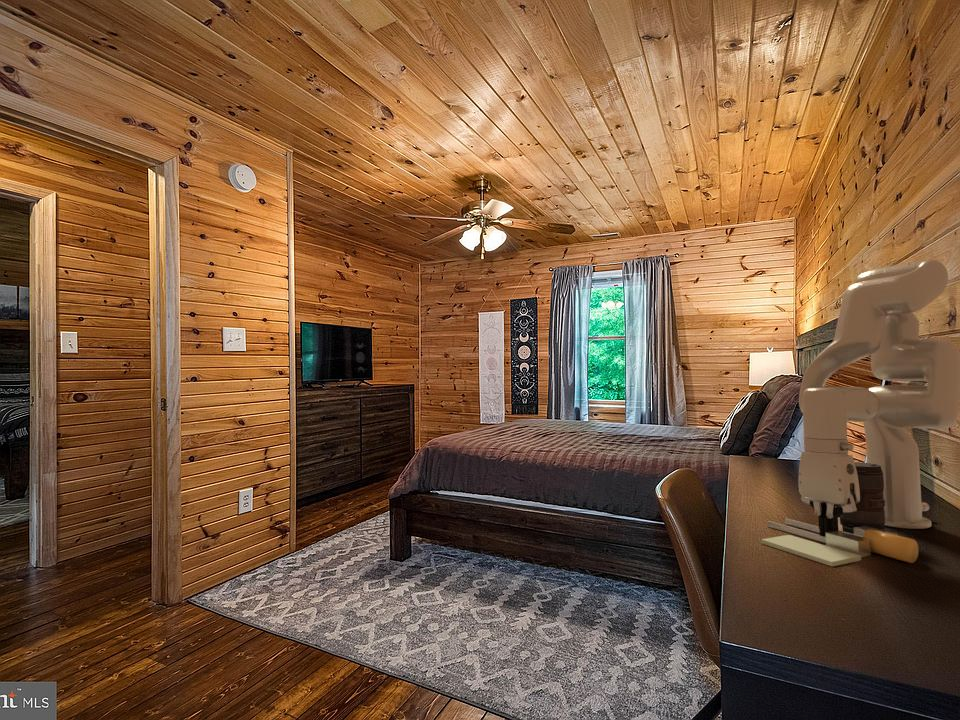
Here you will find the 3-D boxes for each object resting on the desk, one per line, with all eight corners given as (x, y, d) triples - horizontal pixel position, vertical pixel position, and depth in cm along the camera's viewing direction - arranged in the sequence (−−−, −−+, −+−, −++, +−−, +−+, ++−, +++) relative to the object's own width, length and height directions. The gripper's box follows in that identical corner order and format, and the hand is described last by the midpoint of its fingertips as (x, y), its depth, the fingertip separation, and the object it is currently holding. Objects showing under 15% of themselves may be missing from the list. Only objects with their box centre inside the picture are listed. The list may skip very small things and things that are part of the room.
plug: (843, 540, 103) (842, 520, 103) (919, 561, 91) (917, 537, 91) (830, 543, 101) (829, 522, 101) (905, 564, 89) (904, 540, 90)
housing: (795, 522, 117) (795, 509, 117) (898, 549, 97) (897, 533, 98) (758, 527, 112) (758, 514, 113) (858, 557, 93) (858, 541, 93)
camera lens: (879, 531, 109) (876, 462, 110) (891, 542, 102) (888, 467, 103) (835, 527, 113) (832, 460, 113) (843, 537, 105) (840, 465, 106)
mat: (789, 538, 105) (788, 534, 105) (861, 560, 92) (861, 555, 92) (761, 543, 102) (761, 539, 102) (832, 566, 89) (831, 561, 89)
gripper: (876, 450, 99) (880, 544, 98) (803, 442, 113) (806, 524, 112) (851, 452, 96) (855, 549, 95) (779, 443, 110) (782, 528, 109)
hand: (828, 535), depth 104 cm, fingers closed
